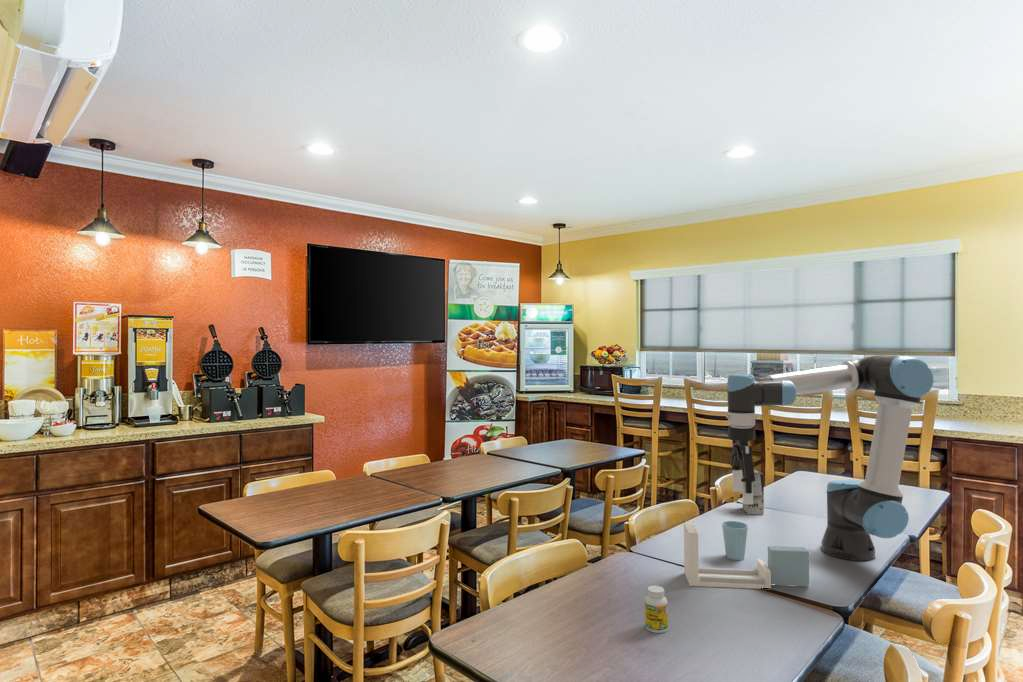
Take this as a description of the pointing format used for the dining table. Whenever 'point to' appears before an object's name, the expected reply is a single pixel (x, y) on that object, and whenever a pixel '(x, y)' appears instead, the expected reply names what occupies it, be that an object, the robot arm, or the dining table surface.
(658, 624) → the supplement bottle
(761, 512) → the coffee box
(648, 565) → the dining table surface
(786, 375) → the robot arm
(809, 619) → the dining table surface
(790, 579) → the door panel
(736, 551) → the cup
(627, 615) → the dining table surface
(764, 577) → the track board
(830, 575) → the dining table surface
